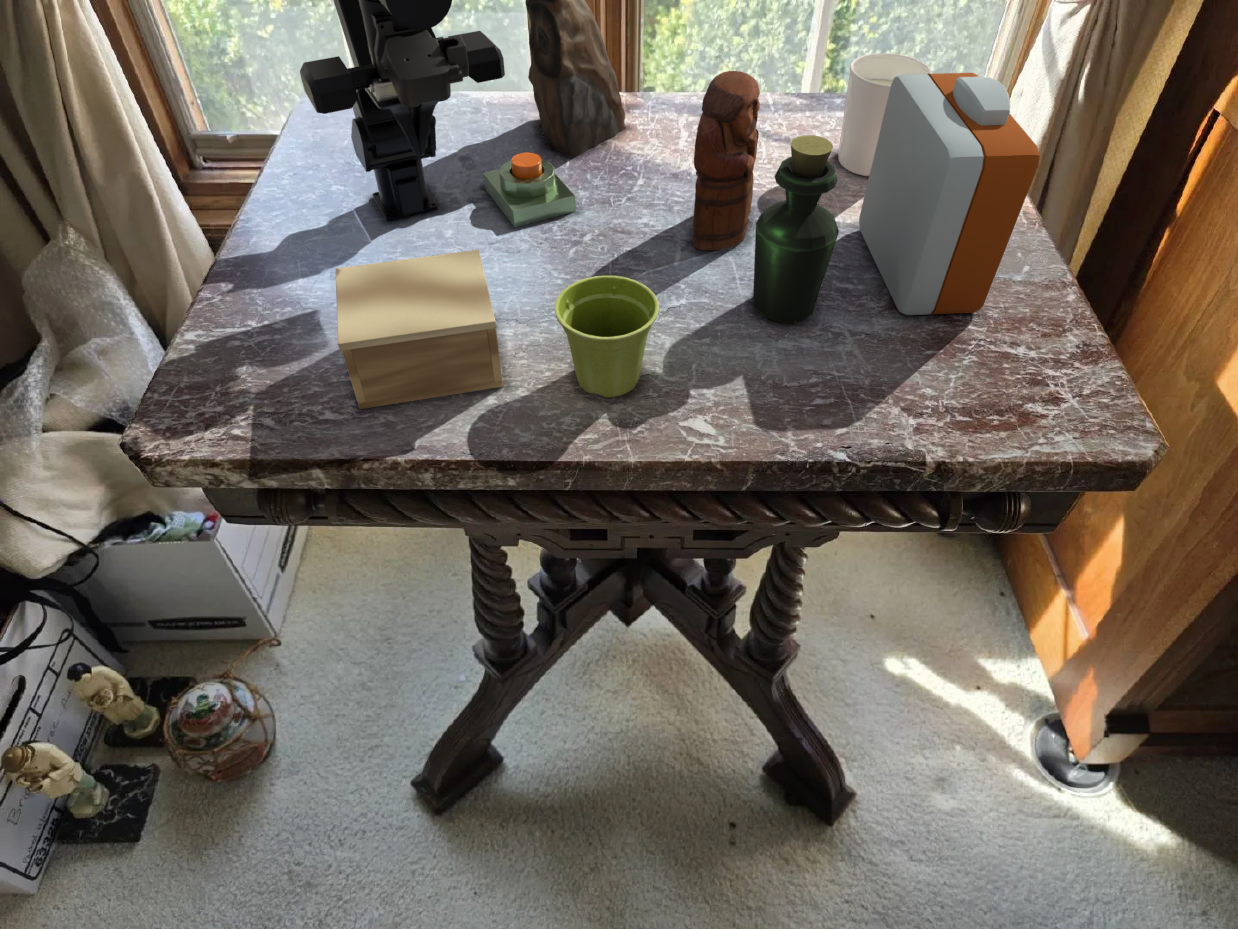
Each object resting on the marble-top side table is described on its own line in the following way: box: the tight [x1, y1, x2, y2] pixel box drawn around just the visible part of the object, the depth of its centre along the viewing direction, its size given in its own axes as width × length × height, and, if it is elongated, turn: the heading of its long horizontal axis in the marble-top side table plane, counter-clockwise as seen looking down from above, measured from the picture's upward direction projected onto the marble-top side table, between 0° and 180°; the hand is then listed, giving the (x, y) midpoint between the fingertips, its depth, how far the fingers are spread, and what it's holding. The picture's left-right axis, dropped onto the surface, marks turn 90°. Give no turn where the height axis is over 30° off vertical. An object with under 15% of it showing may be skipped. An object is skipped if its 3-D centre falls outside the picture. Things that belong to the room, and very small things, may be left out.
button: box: [510, 151, 542, 179], centre depth 102 cm, size 4×4×2 cm
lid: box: [335, 249, 497, 352], centre depth 78 cm, size 12×14×1 cm
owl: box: [525, 0, 627, 158], centre depth 110 cm, size 13×13×20 cm
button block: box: [482, 158, 576, 228], centre depth 104 cm, size 10×8×4 cm
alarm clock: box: [858, 72, 1041, 316], centre depth 88 cm, size 18×9×21 cm, turn 4°
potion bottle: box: [752, 134, 840, 324], centre depth 84 cm, size 8×8×18 cm
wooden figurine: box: [692, 70, 761, 251], centre depth 94 cm, size 12×6×18 cm, turn 164°
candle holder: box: [837, 52, 933, 177], centre depth 108 cm, size 10×10×12 cm
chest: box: [341, 327, 504, 410], centre depth 81 cm, size 11×14×8 cm
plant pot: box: [554, 275, 660, 398], centre depth 80 cm, size 9×9×9 cm
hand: (419, 153), depth 88 cm, fingers closed
